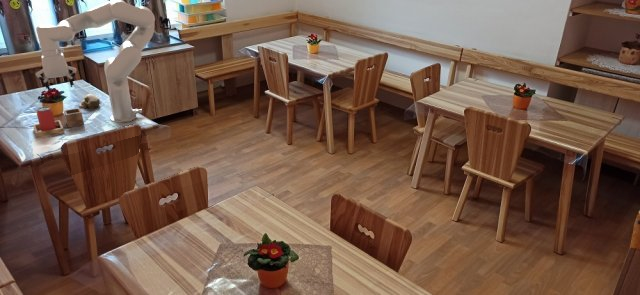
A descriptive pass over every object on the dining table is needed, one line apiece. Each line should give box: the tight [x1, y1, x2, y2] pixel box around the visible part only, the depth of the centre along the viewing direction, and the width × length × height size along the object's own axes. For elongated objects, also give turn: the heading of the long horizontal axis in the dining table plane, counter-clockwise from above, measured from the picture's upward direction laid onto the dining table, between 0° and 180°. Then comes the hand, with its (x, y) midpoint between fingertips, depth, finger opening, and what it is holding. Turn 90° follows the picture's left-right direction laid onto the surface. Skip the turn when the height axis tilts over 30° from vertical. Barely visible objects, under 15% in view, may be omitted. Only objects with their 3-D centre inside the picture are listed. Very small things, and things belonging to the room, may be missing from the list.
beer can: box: [36, 106, 58, 132], centre depth 228 cm, size 7×7×12 cm
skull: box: [78, 93, 101, 110], centre depth 260 cm, size 12×10×10 cm
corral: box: [32, 119, 65, 139], centre depth 230 cm, size 12×12×3 cm
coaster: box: [64, 125, 89, 137], centre depth 231 cm, size 9×9×1 cm
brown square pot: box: [63, 107, 85, 128], centre depth 238 cm, size 7×7×7 cm
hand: (60, 88), depth 229 cm, fingers open, 9 cm apart
